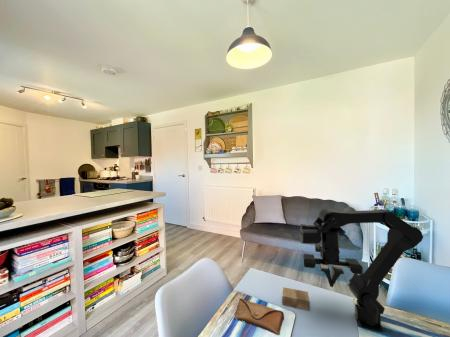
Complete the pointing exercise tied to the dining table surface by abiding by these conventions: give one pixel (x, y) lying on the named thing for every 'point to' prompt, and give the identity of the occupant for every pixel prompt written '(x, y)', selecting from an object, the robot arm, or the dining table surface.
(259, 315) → the sunglasses case
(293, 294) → the walnut block
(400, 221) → the robot arm
